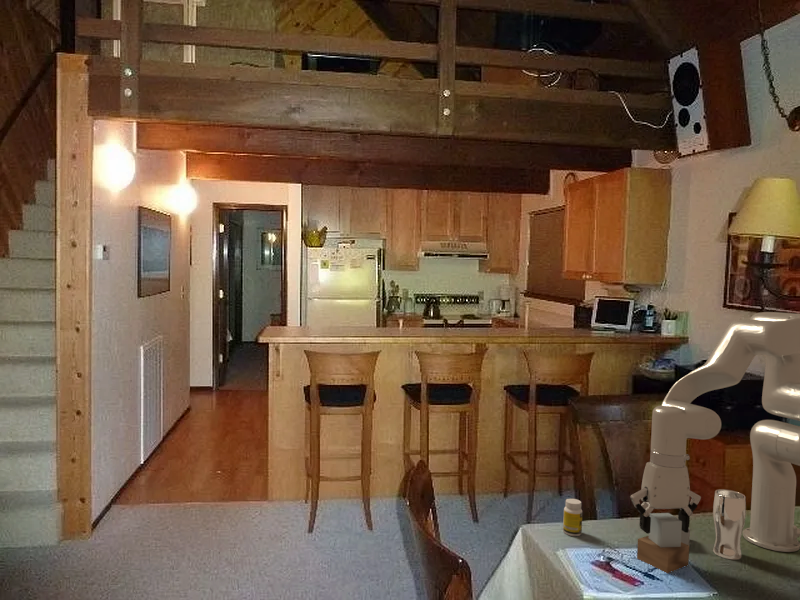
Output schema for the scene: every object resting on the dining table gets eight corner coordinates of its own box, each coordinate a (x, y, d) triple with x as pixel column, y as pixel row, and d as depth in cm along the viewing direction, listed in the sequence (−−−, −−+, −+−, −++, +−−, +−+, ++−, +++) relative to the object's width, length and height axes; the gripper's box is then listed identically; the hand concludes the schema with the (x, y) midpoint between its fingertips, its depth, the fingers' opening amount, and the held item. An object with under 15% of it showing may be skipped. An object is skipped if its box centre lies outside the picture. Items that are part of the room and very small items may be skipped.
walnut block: (657, 552, 143) (658, 532, 143) (688, 566, 136) (689, 545, 136) (636, 559, 139) (637, 538, 139) (667, 574, 132) (668, 552, 132)
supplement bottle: (582, 537, 150) (583, 505, 149) (563, 535, 150) (564, 503, 150) (580, 530, 154) (581, 498, 154) (562, 528, 155) (563, 497, 155)
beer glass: (739, 550, 145) (742, 491, 145) (746, 563, 139) (749, 501, 138) (708, 545, 147) (711, 487, 147) (713, 557, 141) (717, 496, 140)
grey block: (680, 537, 152) (681, 518, 152) (689, 549, 146) (690, 529, 145) (652, 534, 154) (653, 515, 154) (659, 545, 147) (660, 526, 147)
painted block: (667, 537, 140) (668, 512, 140) (680, 546, 135) (681, 521, 135) (648, 538, 139) (649, 513, 139) (661, 547, 134) (662, 521, 134)
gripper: (691, 454, 142) (687, 523, 142) (625, 454, 139) (621, 524, 140) (711, 464, 134) (708, 536, 135) (642, 464, 132) (638, 538, 132)
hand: (664, 530), depth 137 cm, fingers open, 9 cm apart
